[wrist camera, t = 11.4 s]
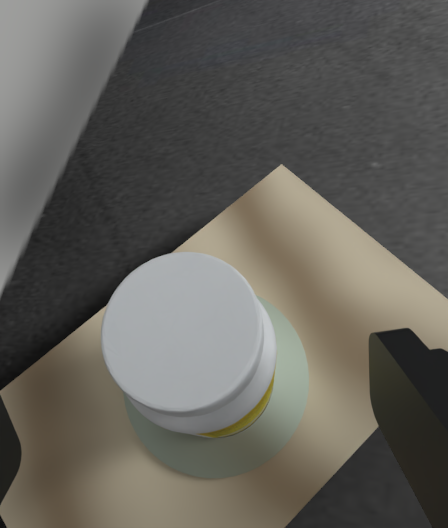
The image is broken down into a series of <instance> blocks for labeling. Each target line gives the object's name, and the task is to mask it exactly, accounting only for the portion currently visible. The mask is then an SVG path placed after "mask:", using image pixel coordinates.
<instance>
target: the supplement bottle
mask: <svg viewBox="0 0 448 528" xmlns="http://www.w3.org/2000/svg"><path fill="white" fill-rule="evenodd" d="M101 348H102V354H103V358H104V361H105V365H106V367H107V369H108V371H109V373H110V375H111V377H112V379H113V380H114V381H115V383H116V384H117V385H118V386H119V388H120V389H121V390H122V391H123V392H124V393H125V394H126V396H127V397H128V399H129V400H130V402H131V403H132V404H133V405H134V407H135V408H136V409H137V410H138V411H139V412H140V413H141V414H142V415H143V416H144V417H146V418H147V419H148V420H150V421H151V422H153V423H154V424H156V425H158V426H160V427H162V428H164V429H167V430H170V431H173V432H180V433H186V434H191V435H196V436H202V437H207V438H224V437H229V436H233V435H236V434H238V433H241V432H243V431H244V430H246V429H248V428H249V427H250V426H252V425H253V424H254V423H255V422H256V421H257V420H258V419H259V418H260V416H261V415H262V414H263V412H264V411H265V409H266V407H267V405H268V403H269V401H270V398H271V394H272V391H273V385H274V376H275V368H276V359H277V342H276V336H275V331H274V327H273V325H272V322H271V319H270V317H269V315H268V313H267V311H266V310H265V308H264V307H263V305H262V304H261V302H260V301H259V300H258V299H257V297H256V295H255V293H254V291H253V289H252V287H251V286H250V284H249V283H248V282H247V280H246V279H245V278H244V277H243V276H242V275H241V274H240V273H239V272H238V271H237V270H236V269H235V268H234V267H232V266H231V265H229V264H228V263H226V262H224V261H223V260H221V259H218V258H216V257H213V256H211V255H207V254H203V253H196V252H177V253H170V254H166V255H163V256H159V257H157V258H154V259H152V260H150V261H148V262H146V263H144V264H142V265H141V266H139V267H138V268H137V269H135V270H134V271H132V272H131V273H130V274H129V275H128V276H127V277H126V278H125V279H124V280H123V281H122V282H121V283H120V285H119V286H118V287H117V289H116V290H115V292H114V293H113V295H112V297H111V298H110V300H109V302H108V305H107V307H106V310H105V313H104V316H103V321H102V327H101Z"/></svg>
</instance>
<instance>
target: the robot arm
mask: <svg viewBox="0 0 448 528" xmlns="http://www.w3.org/2000/svg"><path fill="white" fill-rule="evenodd" d="M369 386H370V400H371V405H372V409H373V413H374V416H375V419H376V421H377V423H378V425H379V427H380V429H381V431H382V433H383V435H384V437H385V439H386V441H387V442H388V444H389V446H390V448H391V450H392V452H393V454H394V456H395V457H396V459H397V461H398V463H399V465H400V467H401V469H402V471H403V473H404V474H405V476H406V478H407V480H408V482H409V484H410V486H411V488H412V489H413V491H414V493H415V495H416V497H417V499H418V501H419V503H420V505H421V506H422V508H423V510H424V512H425V514H426V516H427V518H428V520H429V521H430V523H431V525H432V527H433V528H448V352H447V351H445V350H444V349H442V348H438V349H431V350H430V349H429V348H428V347H427V346H426V345H425V344H424V343H423V342H422V341H421V340H420V338H419V337H418V336H417V335H416V334H415V333H414V332H413V331H412V330H411V329H409V328H401V329H394V330H387V331H380V332H373V333H371V334H370V336H369ZM21 456H22V450H21V443H20V440H19V438H18V435H17V433H16V431H15V428H14V426H13V423H12V421H11V419H10V416H9V414H8V412H7V409H6V407H5V405H4V402H3V400H2V397H1V395H0V505H1V503H2V501H3V499H4V497H5V495H6V494H7V492H8V490H9V488H10V486H11V484H12V482H13V480H14V479H15V477H16V475H17V473H18V470H19V467H20V463H21Z"/></svg>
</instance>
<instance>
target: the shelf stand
mask: <svg viewBox="0 0 448 528" xmlns="http://www.w3.org/2000/svg"><path fill="white" fill-rule="evenodd" d="M177 252H196V253H203V254H207V255H211V256H213V257H216V258H218V259H221V260H223V261H224V262H226V263H228V264H229V265H231V266H232V267H234V268H235V269H236V270H237V271H238V272H239V273H240V274H241V275H242V276H243V277H244V278H245V279H246V280H247V282H248V283H249V284H250V286H251V287H252V289H253V291H254V293H255V295H256V297H257V299H258V300H259V301H260V302H261V304H262V305H263V307H264V308H265V310H266V311H267V313H268V315H269V317H270V319H271V322H272V325H273V327H274V331H275V336H276V342H277V359H276V368H275V376H274V385H273V391H272V394H271V398H270V401H269V403H268V405H267V407H266V409H265V411H264V412H263V414H262V415H261V416H260V418H259V419H258V420H257V421H256V422H255V423H254V424H253V425H252V426H250V427H249V428H248V429H246V430H244V431H243V432H241V433H238V434H236V435H233V436H229V437H224V438H207V437H202V436H196V435H191V434H186V433H180V432H173V431H170V430H167V429H164V428H162V427H160V426H158V425H156V424H154V423H153V422H151V421H150V420H148V419H147V418H146V417H144V416H143V415H142V414H141V413H140V412H139V411H138V410H137V409H136V408H135V407H134V405H133V404H132V403H131V402H130V400H129V399H128V397H127V396H126V394H125V393H124V392H123V391H122V390H121V389H120V388H119V386H118V385H117V384H116V383H115V381H114V380H113V379H112V377H111V375H110V373H109V371H108V369H107V367H106V365H105V361H104V358H103V354H102V348H101V327H102V321H103V316H104V313H105V310H106V307H107V305H106V306H105V307H104V308H103V309H101V310H100V311H99V312H98V313H96V314H95V315H94V316H93V317H91V318H90V319H89V320H88V321H86V322H85V323H84V324H83V325H82V326H80V327H79V328H78V329H77V330H75V331H74V332H73V333H72V334H70V335H69V336H68V337H67V338H65V339H64V340H63V341H62V342H60V343H59V344H58V345H57V346H55V347H54V348H53V349H52V350H50V351H49V352H48V353H47V354H46V355H44V356H43V357H42V358H41V359H39V360H38V361H37V362H36V363H34V364H33V365H32V366H31V367H29V368H28V369H27V370H26V371H24V372H23V373H22V374H21V375H19V376H18V377H17V378H16V379H14V380H13V381H12V382H11V383H10V384H8V385H7V386H6V387H5V388H3V389H2V390H1V391H0V395H1V397H2V400H3V402H4V405H5V407H6V409H7V412H8V414H9V416H10V419H11V421H12V423H13V426H14V428H15V431H16V433H17V435H18V438H19V440H20V443H21V450H22V456H21V463H20V467H19V470H18V473H17V475H16V477H15V479H14V480H13V482H12V484H11V486H10V488H9V490H8V492H7V494H6V495H5V497H4V499H3V501H2V503H1V505H0V515H1V517H2V519H3V521H4V523H5V525H6V527H7V528H285V526H286V525H287V524H288V523H289V522H290V521H291V520H292V519H293V518H294V517H295V516H296V515H297V514H298V513H299V511H300V510H301V509H302V508H303V507H304V506H305V505H306V504H307V503H308V502H309V501H310V500H311V499H312V497H313V496H314V495H315V494H316V493H317V492H318V491H319V490H320V489H321V488H322V487H323V486H324V485H325V483H326V482H327V481H328V480H329V479H330V478H331V477H332V476H333V475H334V474H335V473H336V472H337V471H338V469H339V468H340V467H341V466H342V465H343V464H344V463H345V462H346V461H347V460H348V459H349V458H350V457H351V455H352V454H353V453H354V452H355V451H356V450H357V449H358V448H359V447H360V446H361V445H362V444H363V443H364V442H365V440H366V439H367V438H368V437H369V436H370V435H371V434H372V433H373V432H374V431H375V430H376V429H377V428H378V426H379V425H378V423H377V421H376V419H375V416H374V413H373V409H372V405H371V400H370V386H369V336H370V334H371V333H373V332H380V331H387V330H394V329H401V328H409V329H411V330H412V331H413V332H414V333H415V334H416V335H417V336H418V337H419V338H420V340H421V341H422V342H423V343H424V344H425V345H426V346H427V347H428V348H429V349H430V350H431V349H438V348H442V349H444V350H445V351H447V352H448V299H447V298H446V297H444V296H443V295H442V294H441V293H439V292H438V291H437V290H436V289H435V288H433V287H432V286H431V285H430V284H428V283H427V282H426V281H425V280H423V279H422V278H421V277H420V276H418V275H417V274H416V273H415V272H414V271H412V270H411V269H410V268H409V267H407V266H406V265H405V264H404V263H402V262H401V261H400V260H399V259H398V258H396V257H395V256H394V255H393V254H391V253H390V252H389V251H388V250H386V249H385V248H384V247H383V246H382V245H380V244H379V243H378V242H377V241H375V240H374V239H373V238H372V237H370V236H369V235H368V234H367V233H366V232H364V231H363V230H362V229H361V228H359V227H358V226H357V225H356V224H354V223H353V222H352V221H351V220H350V219H348V218H347V217H346V216H345V215H343V214H342V213H341V212H340V211H338V210H337V209H336V208H335V207H334V206H332V205H331V204H330V203H329V202H327V201H326V200H325V199H324V198H322V197H321V196H320V195H319V194H318V193H316V192H315V191H314V190H313V189H311V188H310V187H309V186H308V185H306V184H305V183H304V182H303V181H302V180H300V179H299V178H298V177H297V176H295V175H294V174H293V173H292V172H290V171H289V170H288V169H287V168H286V167H284V166H283V165H282V164H281V165H280V166H279V167H278V168H276V169H275V170H274V171H273V172H271V173H270V174H269V175H268V176H266V177H265V178H264V179H263V180H262V181H260V182H259V183H258V184H257V185H255V186H254V187H253V188H252V189H250V190H249V191H248V192H247V193H245V194H244V195H243V196H242V197H240V198H239V199H238V200H237V201H235V202H234V203H233V204H232V205H230V206H229V207H228V208H227V209H226V210H224V211H223V212H222V213H221V214H219V215H218V216H217V217H216V218H214V219H213V220H212V221H211V222H209V223H208V224H207V225H206V226H204V227H203V228H202V229H201V230H199V231H198V232H197V233H196V234H194V235H193V236H192V237H191V238H190V239H188V240H187V241H186V242H185V243H183V244H182V245H181V246H180V247H178V248H177V249H176V250H175V251H173V252H172V253H177Z"/></svg>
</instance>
